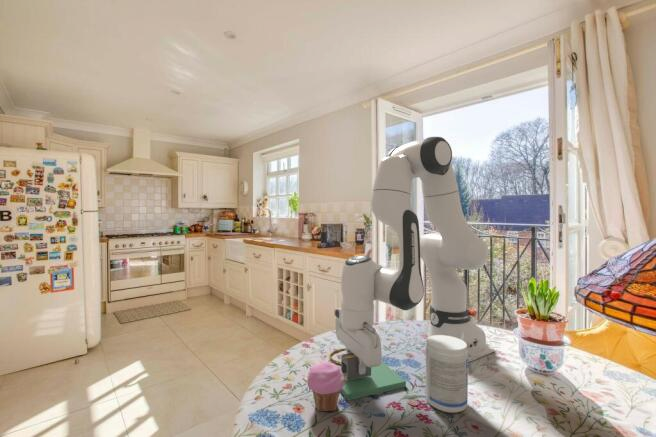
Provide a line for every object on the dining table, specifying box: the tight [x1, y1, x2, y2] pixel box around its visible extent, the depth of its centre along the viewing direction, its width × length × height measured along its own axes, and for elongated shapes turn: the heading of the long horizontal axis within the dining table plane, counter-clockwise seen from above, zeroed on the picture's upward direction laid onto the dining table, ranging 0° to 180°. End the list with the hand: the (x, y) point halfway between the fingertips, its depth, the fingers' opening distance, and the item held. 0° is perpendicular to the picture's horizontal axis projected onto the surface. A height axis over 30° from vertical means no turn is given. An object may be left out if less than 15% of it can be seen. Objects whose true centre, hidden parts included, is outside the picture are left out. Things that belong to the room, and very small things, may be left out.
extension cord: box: [329, 347, 346, 366], centre depth 100 cm, size 12×16×2 cm
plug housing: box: [340, 353, 371, 380], centre depth 85 cm, size 7×4×5 cm, turn 112°
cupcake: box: [306, 361, 345, 412], centre depth 74 cm, size 9×9×10 cm
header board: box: [340, 361, 407, 402], centre depth 85 cm, size 17×12×4 cm
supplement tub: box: [424, 335, 469, 414], centre depth 76 cm, size 10×10×15 cm
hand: (356, 368), depth 85 cm, fingers closed on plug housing, 4 cm apart
